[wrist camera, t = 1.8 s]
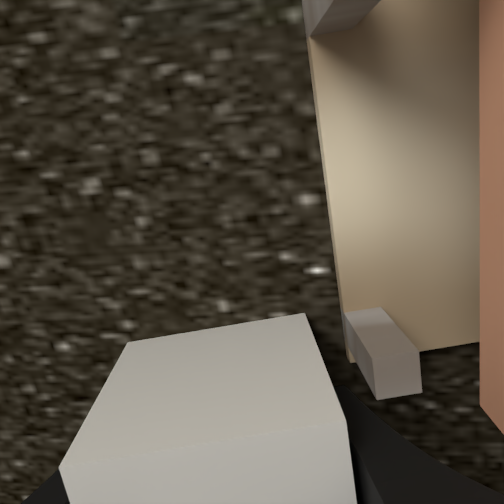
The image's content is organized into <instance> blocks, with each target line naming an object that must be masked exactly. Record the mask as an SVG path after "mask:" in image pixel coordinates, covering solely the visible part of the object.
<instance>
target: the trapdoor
mask: <svg viewBox="0 0 504 504" xmlns="http://www.w3.org/2000/svg"><path fill="white" fill-rule="evenodd" d="M479 160H480V406H481V407H482V409H483V410H484V411H485V412H486V413H487V415H488V416H489V417H490V418H491V420H492V421H493V422H494V423H495V424H496V426H497V427H498V428H499V429H500V431H501V432H502V433H503V434H504V0H479Z"/></svg>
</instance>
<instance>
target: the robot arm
mask: <svg viewBox="0 0 504 504" xmlns="http://www.w3.org/2000/svg"><path fill="white" fill-rule="evenodd" d="M333 388H334V390H335V393H336V395H337V398H338V401H339V403H340V406H341V408H342V411H343V414H344V416H345V419H346V423H347V431H348V438H349V446H350V454H351V461H352V469H353V477H354V484H355V492H356V500H357V504H504V495H503V494H501V493H499V492H497V491H494V490H492V489H490V488H488V487H486V486H484V485H482V484H480V483H478V482H476V481H474V480H472V479H470V478H468V477H466V476H464V475H462V474H460V473H459V472H457V471H455V470H453V469H451V468H450V467H448V466H446V465H445V464H443V463H441V462H440V461H438V460H436V459H435V458H433V457H431V456H430V455H428V454H427V453H425V452H424V451H422V450H421V449H419V448H418V447H416V446H415V445H414V444H412V443H411V442H409V441H408V440H407V439H405V438H404V437H403V436H401V435H400V434H399V433H398V432H396V431H395V430H394V429H393V428H391V427H390V426H389V425H388V424H386V423H385V422H384V421H383V420H382V419H380V418H379V417H378V416H377V415H376V414H375V413H374V412H372V411H371V410H370V409H369V408H368V407H367V406H366V405H365V404H364V403H363V402H362V401H361V400H359V399H358V398H357V397H356V396H355V395H354V394H353V393H352V392H351V391H350V390H349V389H348V388H347V387H346V386H344V385H342V386H336V387H333ZM21 504H70V502H69V498H68V495H67V492H66V489H65V486H64V483H63V480H62V477H61V473H60V470H59V469H58V470H57V471H56V472H55V473H54V474H53V475H52V476H51V477H50V478H49V479H48V480H46V481H45V482H44V483H43V484H42V485H41V486H40V487H39V488H38V489H36V490H35V491H34V492H33V493H32V494H31V495H30V496H29V497H28V498H27V499H25V500H24V501H23V502H22V503H21Z"/></svg>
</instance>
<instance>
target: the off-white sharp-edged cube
mask: <svg viewBox="0 0 504 504" xmlns="http://www.w3.org/2000/svg"><path fill="white" fill-rule="evenodd" d="M59 470H60V473H61V477H62V480H63V483H64V486H65V489H66V492H67V495H68V498H69V502H70V504H357V500H356V492H355V484H354V477H353V469H352V461H351V454H350V446H349V438H348V431H347V423H346V419H345V416H344V414H343V411H342V408H341V406H340V403H339V401H338V398H337V395H336V393H335V390H334V388H333V385H332V382H331V380H330V377H329V375H328V372H327V370H326V367H325V364H324V362H323V359H322V357H321V354H320V351H319V349H318V346H317V344H316V341H315V338H314V336H313V333H312V331H311V328H310V325H309V323H308V320H307V318H306V315H305V313H301V314H295V315H289V316H283V317H277V318H271V319H265V320H259V321H253V322H247V323H241V324H235V325H229V326H224V327H218V328H212V329H206V330H200V331H194V332H188V333H182V334H176V335H170V336H164V337H158V338H152V339H146V340H140V341H134V342H128V343H127V345H126V346H125V348H124V350H123V352H122V354H121V356H120V357H119V359H118V361H117V363H116V365H115V366H114V368H113V370H112V372H111V374H110V375H109V377H108V379H107V381H106V383H105V385H104V386H103V388H102V390H101V392H100V394H99V395H98V397H97V399H96V401H95V403H94V404H93V406H92V408H91V410H90V412H89V413H88V415H87V417H86V419H85V421H84V423H83V424H82V426H81V428H80V430H79V432H78V433H77V435H76V437H75V439H74V441H73V442H72V444H71V446H70V448H69V450H68V452H67V453H66V455H65V457H64V459H63V461H62V462H61V464H60V466H59Z"/></svg>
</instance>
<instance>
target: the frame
mask: <svg viewBox="0 0 504 504" xmlns="http://www.w3.org/2000/svg"><path fill="white" fill-rule="evenodd" d="M302 7H303V15H304V23H305V31H306V39H307V47H308V55H309V63H310V70H311V78H312V86H313V94H314V102H315V110H316V118H317V126H318V134H319V141H320V149H321V157H322V165H323V173H324V181H325V189H326V197H327V205H328V212H329V220H330V228H331V236H332V244H333V252H334V260H335V268H336V276H337V283H338V291H339V299H340V307H341V315H342V323H343V331H344V339H345V347H346V354H347V358H348V360H349V362H350V363H354V362H357V364H358V366H359V368H360V370H361V372H362V374H363V376H364V377H365V379H366V381H367V383H368V385H369V387H370V389H371V390H372V392H373V394H374V396H375V398H376V400H380V399H387V398H393V397H399V396H405V395H411V394H417V393H422V383H421V371H420V359H419V352H420V351H426V350H432V349H438V348H444V347H450V346H456V345H462V344H468V343H474V342H480V160H479V0H302Z"/></svg>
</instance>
